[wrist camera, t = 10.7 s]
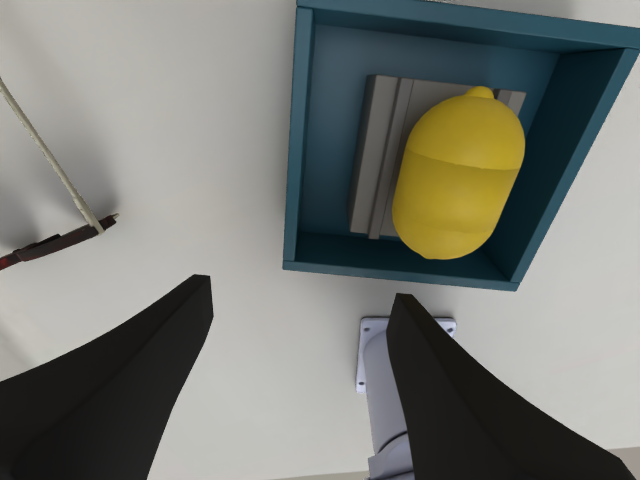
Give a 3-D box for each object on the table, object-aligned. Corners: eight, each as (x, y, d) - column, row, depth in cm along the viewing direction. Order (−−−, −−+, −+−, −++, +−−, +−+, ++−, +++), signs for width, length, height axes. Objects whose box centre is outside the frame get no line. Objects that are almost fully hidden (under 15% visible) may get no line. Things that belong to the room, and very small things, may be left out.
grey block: (447, 219, 21) (473, 249, 17) (346, 209, 20) (350, 237, 17) (490, 89, 17) (536, 92, 13) (366, 74, 17) (378, 74, 13)
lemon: (446, 237, 18) (496, 285, 14) (371, 234, 17) (400, 284, 13) (497, 89, 14) (585, 96, 10) (404, 78, 13) (458, 80, 9)
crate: (482, 253, 23) (516, 292, 18) (290, 234, 22) (282, 270, 18) (571, 41, 16) (652, 29, 12) (304, 7, 16) (297, -17, 12)
